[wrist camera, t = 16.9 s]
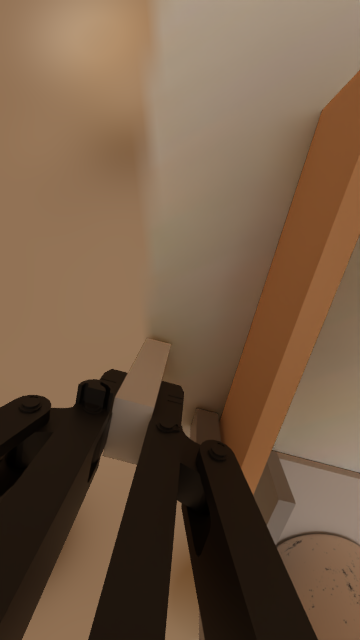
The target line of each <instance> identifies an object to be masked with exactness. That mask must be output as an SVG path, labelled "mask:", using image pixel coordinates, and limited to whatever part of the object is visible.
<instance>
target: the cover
mask: <svg viewBox="0 0 360 640" xmlns="http://www.w3.org/2000/svg"><path fill="white" fill-rule="evenodd" d="M359 235H360V70H359V71H358V72H357V74H356V75H355V76H354V77H353V78H352V79H351V80H350V81H349V82H348V83H347V84H346V85H345V86H344V87H343V88H342V90H341V91H340V92H339V93H338V94H337V95H336V96H335V97H334V98H333V99H332V100H331V101H330V102H329V103H328V104H327V105H326V107H325V108H324V109H323V110H322V113H321V116H320V119H319V122H318V125H317V128H316V131H315V134H314V137H313V140H312V143H311V146H310V149H309V152H308V155H307V158H306V161H305V164H304V167H303V170H302V173H301V176H300V179H299V182H298V185H297V188H296V191H295V194H294V197H293V201H292V204H291V207H290V210H289V213H288V216H287V219H286V222H285V225H284V228H283V231H282V234H281V237H280V240H279V243H278V246H277V249H276V252H275V255H274V258H273V261H272V264H271V267H270V270H269V273H268V276H267V279H266V282H265V285H264V289H263V292H262V295H261V298H260V301H259V304H258V307H257V310H256V313H255V316H254V319H253V322H252V325H251V328H250V331H249V334H248V337H247V340H246V343H245V346H244V349H243V352H242V355H241V358H240V361H239V364H238V367H237V370H236V373H235V377H234V380H233V383H232V386H231V389H230V392H229V395H228V398H227V401H226V404H225V407H224V410H223V413H222V416H221V419H220V422H219V428H220V436H221V442H222V443H224V444H226V445H227V446H228V447H229V448H231V450H232V451H233V453H234V454H235V456H236V458H237V460H238V463H239V465H240V467H241V469H242V472H243V474H244V476H245V478H246V481H247V483H248V485H249V487H250V489H251V492H252V494H253V495H254V492H255V490H256V487H257V485H258V482H259V480H260V477H261V475H262V473H263V470H264V468H265V465H266V463H267V460H268V458H269V455H270V453H271V450H272V448H273V446H274V443H275V441H276V438H277V436H278V433H279V431H280V428H281V426H282V424H283V421H284V419H285V416H286V414H287V411H288V409H289V406H290V404H291V401H292V399H293V397H294V394H295V392H296V389H297V387H298V384H299V382H300V379H301V377H302V374H303V372H304V370H305V367H306V365H307V362H308V360H309V357H310V355H311V352H312V350H313V348H314V345H315V343H316V340H317V338H318V335H319V333H320V330H321V328H322V325H323V323H324V321H325V318H326V316H327V313H328V311H329V308H330V306H331V303H332V301H333V298H334V296H335V294H336V291H337V289H338V286H339V284H340V281H341V279H342V276H343V274H344V272H345V269H346V267H347V264H348V262H349V259H350V257H351V254H352V252H353V249H354V247H355V245H356V242H357V240H358V237H359Z"/></svg>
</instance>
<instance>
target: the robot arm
mask: <svg viewBox="0 0 360 640" xmlns="http://www.w3.org/2000/svg"><path fill="white" fill-rule="evenodd" d="M170 347H171V344H169V343H165V342H161V341H157V340H154V339H150V338H147V339H146V341H145V342H144V344H143V346H142V348H141V350H140V352H139V354H138V355H137V357H136V359H135V361H134V363H133V365H132V367H131V369H130V370H129V372H128V373H126V372H122V371H118V370H114V369H111V370H109V371H107V372H105V373H104V375H103V376H102V377H101V379H100V380H95V379H93V380H87V381H83V382H81V383H80V384H79V386H78V392H77V398H76V404H75V405H74V406H73V407H71V408H51V403H50V401H49V400H48V399H47V398H45V397H42V396H38V395H27V396H22V397H20V398H17V399H15V400H13V401H11V402H9V403H8V404H6V405H4V406H2V407H0V640H22V638H23V636H24V633H25V631H26V629H27V627H28V624H29V622H30V620H31V618H32V615H33V613H34V611H35V609H36V606H37V604H38V602H39V599H40V597H41V595H42V593H43V590H44V588H45V586H46V583H47V581H48V579H49V577H50V575H51V572H52V570H53V568H54V566H55V563H56V561H57V559H58V557H59V554H60V552H61V550H62V548H63V545H64V543H65V541H66V539H67V536H68V534H69V532H70V529H71V527H72V525H73V523H74V520H75V518H76V516H77V514H78V511H79V509H80V507H81V504H82V502H83V500H84V498H85V496H86V493H87V491H88V489H89V487H90V484H91V482H92V480H93V477H94V475H95V473H96V471H97V468H98V466H99V460H100V456H101V454H102V452H103V450H104V452H103V456H105V457H109V458H113V459H117V460H121V461H125V462H129V463H132V464H136V465H137V467H136V471H135V474H134V479H133V481H132V485H131V488H130V492H129V496H128V499H127V503H126V506H125V510H124V514H123V517H122V521H121V524H120V528H119V531H118V535H117V539H116V542H115V546H114V549H113V553H112V556H111V560H110V564H109V567H108V571H107V574H106V578H105V582H104V585H103V589H102V592H101V596H100V599H99V603H98V607H97V610H96V614H95V617H94V621H93V624H92V628H91V632H90V635H89V639H88V640H165V630H166V619H167V608H168V596H169V584H170V572H171V562H172V550H173V539H174V526H175V515H176V504H177V500H178V501H179V502H181V503H182V513H183V519H184V525H185V530H186V536H187V542H188V547H189V553H190V558H191V564H192V570H193V576H194V582H195V587H196V593H197V599H198V604H199V610H200V616H201V621H202V627H203V633H204V638H205V640H318V639H317V636H316V634H315V632H314V630H313V627H312V625H311V623H310V621H309V619H308V616H307V614H306V612H305V610H304V607H303V605H302V603H301V601H300V599H299V596H298V594H297V592H296V590H295V587H294V585H293V583H292V581H291V578H290V576H289V574H288V572H287V570H286V567H285V565H284V563H283V561H282V558H281V556H280V554H279V552H278V550H277V547H276V545H275V543H274V541H273V538H272V536H271V534H270V532H269V530H268V527H267V525H266V523H265V521H264V518H263V516H262V514H261V512H260V509H259V507H258V505H257V503H256V501H255V498H254V496H253V494H252V492H251V489H250V487H249V485H248V483H247V481H246V478H245V476H244V474H243V472H242V469H241V467H240V465H239V463H238V460H237V458H236V456H235V454H234V453H233V451H232V450H231V448H229V447H228V446H227V445H226V444H224V443H222V442H220V441H217V440H206V441H204V442H202V444H201V445H200V444H198V443H196V442H194V441H193V440H191V439H189V438H188V437H187V436H186V435H185V433H184V432H183V429H182V426H181V421H182V410H183V399H184V391H183V389H182V387H181V386H179V385H175V384H171V383H167V382H164V381H162V378H163V374H164V370H165V366H166V362H167V358H168V354H169V351H170Z"/></svg>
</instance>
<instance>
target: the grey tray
mask: <svg viewBox="0 0 360 640" xmlns="http://www.w3.org/2000/svg"><path fill="white" fill-rule="evenodd" d="M190 439H191V440H193V441H194V442H196V443H198V444H200V445H201V444H202V442H204V441H206V440H217V441H220V442H221V436H220V428H219V419H218V413H214V412H210V411H206V410H202V409H198V408H197V409H196V412H195V415H194V418H193V421H192V425H191V432H190ZM253 496H254V498H255V501H256V503H257V505H258V507H259V509H260V512H261V514H262V516H263V518H264V521H265V523H266V525H267V527H268V530H269V532H270V534H271V536H272V538H273V541H274V543H275V545H276V547H277V546H278V545H280V544H282V543H283V542H285V541H287V540H290V539H292V538H295V537H299V536H303V535H310V534H327V535H334V536H338V537H342V538H344V539H347V540H349V541H351V542H353V543H355V544H357V545H358V546H360V473H357V472H353V471H349V470H345V469H341V468H337V467H333V466H330V465H326V464H322V463H318V462H314V461H310V460H306V459H302V458H299V457H295V456H291V455H287V454H283V453H279V452H275V451H271V453H270V455H269V458H268V460H267V463H266V465H265V468H264V470H263V473H262V475H261V477H260V480H259V482H258V485H257V487H256V490H255V492H254V495H253ZM199 640H205V638H204V633H203V627H202V621H201V616H200V610H199Z"/></svg>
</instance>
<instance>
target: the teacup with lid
mask: <svg viewBox="0 0 360 640" xmlns="http://www.w3.org/2000/svg"><path fill="white" fill-rule="evenodd" d="M277 550H278V552H279V554H280V556H281V558H282V561H283V563H284V565H285V567H286V570H287V572H288V574H289V576H290V578H291V581H292V583H293V585H294V587H295V590H296V592H297V594H298V596H299V599H300V601H301V603H302V605H303V607H304V610H305V612H306V614H307V616H308V619H309V621H310V623H311V625H312V627H313V630H314V632H315V634H316V636H317V639H318V640H360V546H358V545H357V544H355V543H353V542H351V541H349V540H347V539H344V538H342V537H338V536H334V535H327V534H310V535H303V536H299V537H295V538H292V539H290V540H287V541H285V542H283V543H282V544H280V545H278V546H277Z"/></svg>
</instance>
